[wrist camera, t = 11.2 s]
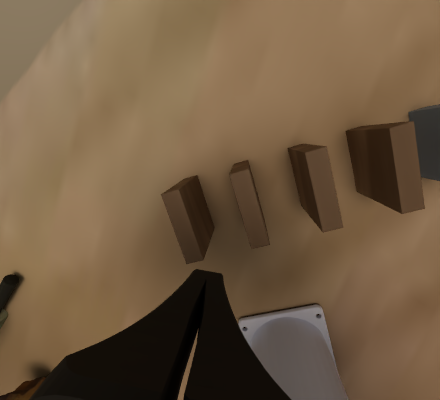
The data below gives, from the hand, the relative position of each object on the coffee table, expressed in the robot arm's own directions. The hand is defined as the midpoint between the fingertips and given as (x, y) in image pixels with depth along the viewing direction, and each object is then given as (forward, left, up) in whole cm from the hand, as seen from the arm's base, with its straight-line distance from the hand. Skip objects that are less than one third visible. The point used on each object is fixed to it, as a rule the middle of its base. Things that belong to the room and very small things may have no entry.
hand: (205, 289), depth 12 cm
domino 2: (+2, -3, -11) cm, 11 cm away
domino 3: (+2, -7, -11) cm, 13 cm away
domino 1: (+2, +2, -11) cm, 11 cm away
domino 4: (+2, -12, -11) cm, 16 cm away
